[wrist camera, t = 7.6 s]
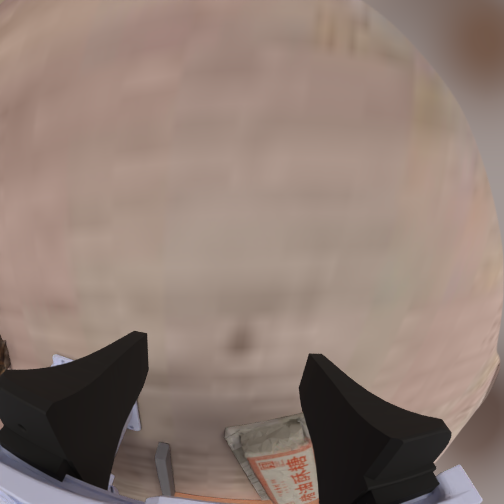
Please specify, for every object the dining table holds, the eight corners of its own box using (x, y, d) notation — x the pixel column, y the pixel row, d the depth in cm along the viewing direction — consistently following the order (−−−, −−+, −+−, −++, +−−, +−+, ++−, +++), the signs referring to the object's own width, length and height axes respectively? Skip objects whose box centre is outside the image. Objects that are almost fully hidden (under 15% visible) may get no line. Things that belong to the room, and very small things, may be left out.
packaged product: (219, 459, 20) (330, 437, 19) (222, 423, 24) (318, 403, 24) (263, 518, 24) (337, 503, 23) (261, 492, 28) (330, 478, 28)
